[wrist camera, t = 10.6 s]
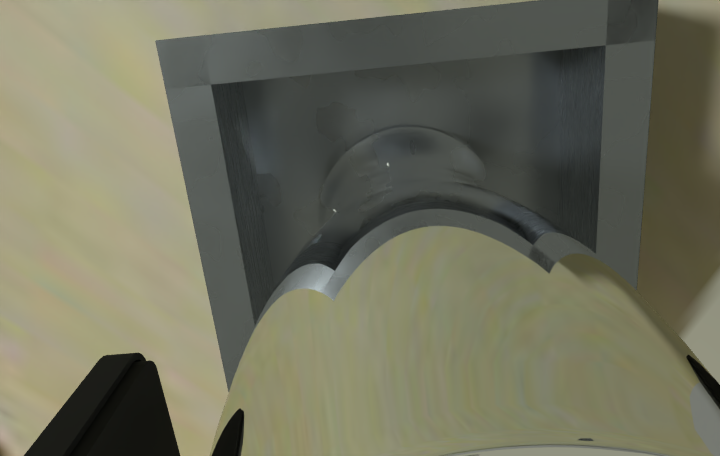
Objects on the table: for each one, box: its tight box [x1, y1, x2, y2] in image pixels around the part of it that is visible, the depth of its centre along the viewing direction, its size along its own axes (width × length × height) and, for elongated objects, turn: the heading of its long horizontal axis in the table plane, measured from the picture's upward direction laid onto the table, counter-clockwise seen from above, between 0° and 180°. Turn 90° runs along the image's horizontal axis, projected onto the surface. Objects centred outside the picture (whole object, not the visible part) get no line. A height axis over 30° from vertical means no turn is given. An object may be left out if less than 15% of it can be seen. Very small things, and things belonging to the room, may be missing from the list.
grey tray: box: [156, 0, 658, 391], centre depth 18 cm, size 12×12×4 cm
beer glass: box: [210, 127, 720, 456], centre depth 12 cm, size 7×7×15 cm
